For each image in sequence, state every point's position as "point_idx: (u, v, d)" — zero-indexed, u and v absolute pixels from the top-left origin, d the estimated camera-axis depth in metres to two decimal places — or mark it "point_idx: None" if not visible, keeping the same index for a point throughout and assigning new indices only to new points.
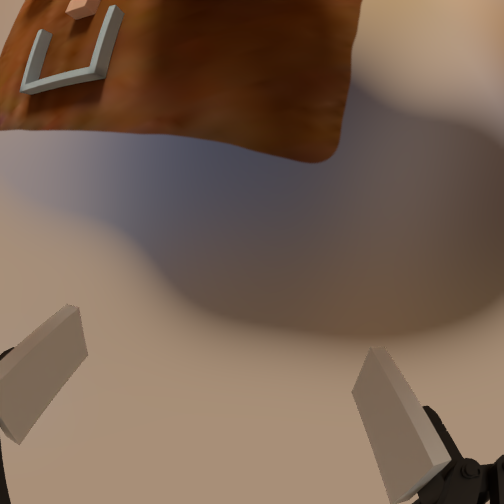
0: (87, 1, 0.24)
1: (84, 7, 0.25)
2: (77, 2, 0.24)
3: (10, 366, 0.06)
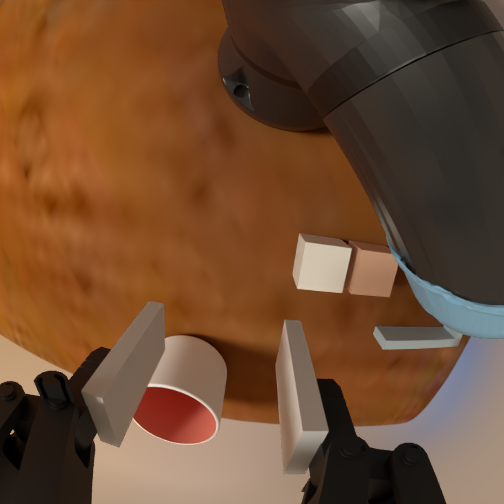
0: (389, 253, 0.25)
1: None
2: (381, 275, 0.26)
3: (118, 366, 0.08)
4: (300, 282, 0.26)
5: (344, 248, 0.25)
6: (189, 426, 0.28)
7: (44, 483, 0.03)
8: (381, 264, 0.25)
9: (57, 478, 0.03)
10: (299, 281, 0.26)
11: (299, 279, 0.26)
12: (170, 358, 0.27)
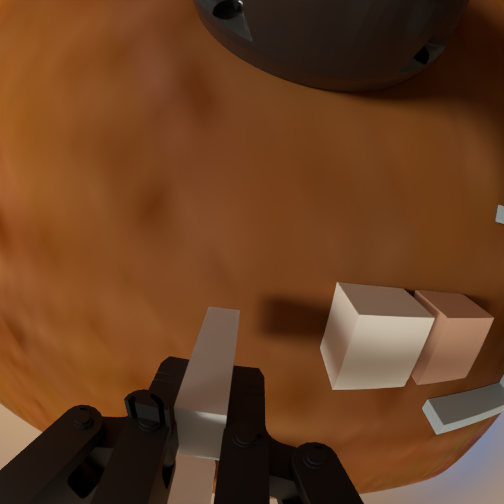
0: (481, 315, 0.12)
1: None
2: (464, 352, 0.12)
3: (203, 375, 0.08)
4: (339, 380, 0.12)
5: (423, 319, 0.11)
6: None
7: None
8: (468, 336, 0.12)
9: None
10: (338, 379, 0.12)
11: (338, 375, 0.12)
12: None
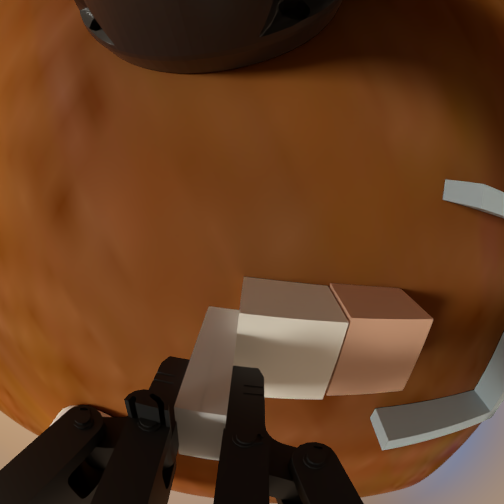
0: (412, 315, 0.11)
1: None
2: (391, 360, 0.11)
3: (204, 375, 0.08)
4: None
5: (331, 323, 0.11)
6: None
7: None
8: (393, 341, 0.11)
9: None
10: None
11: None
12: None
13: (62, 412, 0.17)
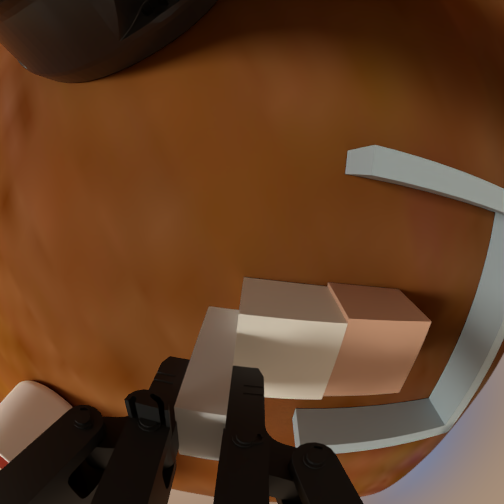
0: (410, 317, 0.11)
1: None
2: (388, 362, 0.11)
3: (204, 375, 0.08)
4: None
5: (330, 324, 0.11)
6: None
7: None
8: (390, 343, 0.11)
9: None
10: None
11: None
12: (6, 410, 0.13)
13: (16, 386, 0.17)
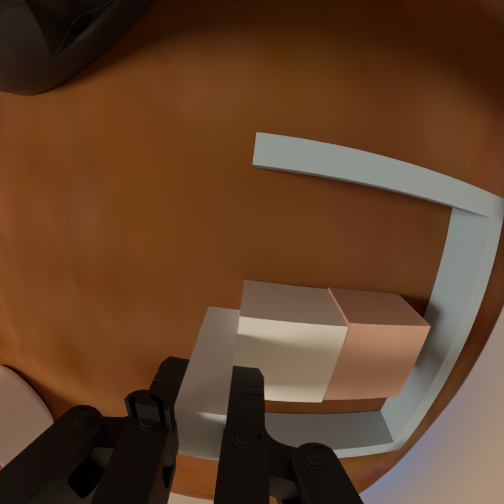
0: (410, 322, 0.11)
1: None
2: (388, 366, 0.11)
3: (204, 375, 0.08)
4: None
5: (331, 327, 0.11)
6: None
7: None
8: (389, 347, 0.11)
9: None
10: None
11: None
12: None
13: None
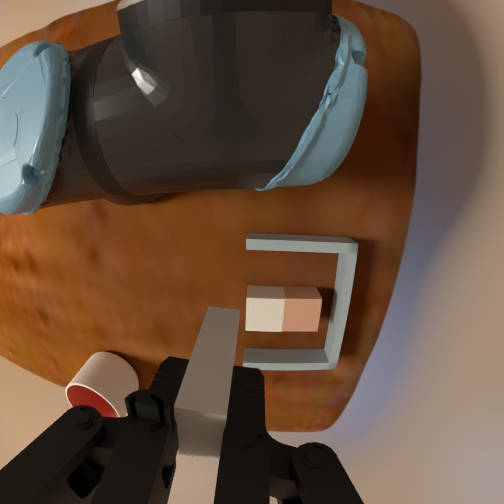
0: (312, 297, 0.33)
1: None
2: (306, 316, 0.33)
3: (203, 375, 0.08)
4: (247, 326, 0.34)
5: (278, 299, 0.33)
6: None
7: None
8: (305, 308, 0.33)
9: None
10: (246, 325, 0.34)
11: (246, 323, 0.34)
12: (90, 367, 0.35)
13: (92, 356, 0.38)
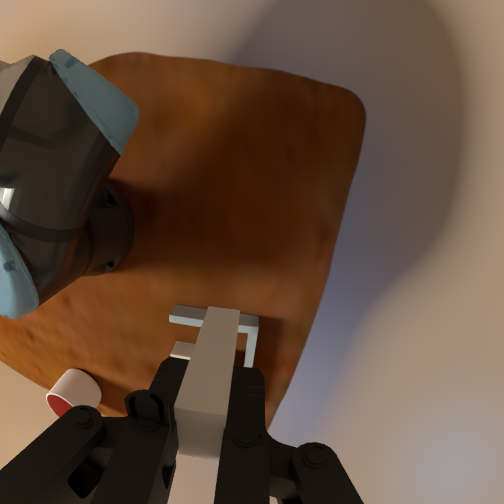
0: None
1: None
2: None
3: (204, 375, 0.08)
4: None
5: None
6: None
7: None
8: None
9: None
10: None
11: None
12: (64, 381, 0.42)
13: (66, 371, 0.46)
